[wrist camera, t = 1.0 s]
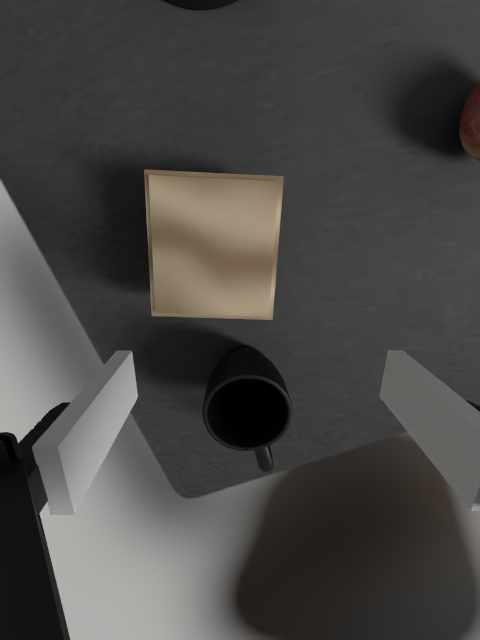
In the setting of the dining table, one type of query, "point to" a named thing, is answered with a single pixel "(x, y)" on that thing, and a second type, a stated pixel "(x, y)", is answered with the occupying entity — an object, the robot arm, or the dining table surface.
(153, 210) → the lid
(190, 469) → the dining table surface
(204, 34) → the dining table surface
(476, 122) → the fruit
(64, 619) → the robot arm
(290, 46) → the dining table surface
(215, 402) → the mug
